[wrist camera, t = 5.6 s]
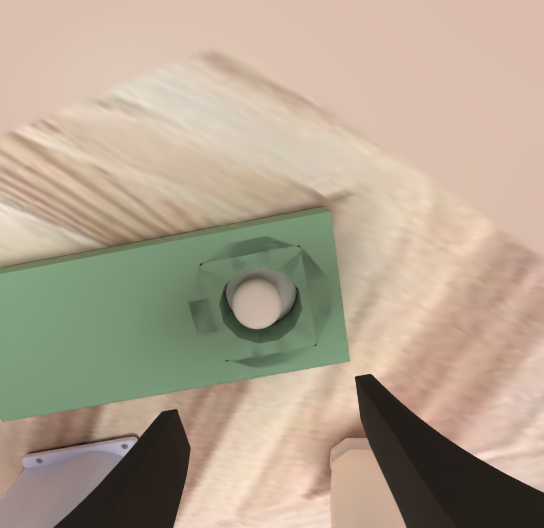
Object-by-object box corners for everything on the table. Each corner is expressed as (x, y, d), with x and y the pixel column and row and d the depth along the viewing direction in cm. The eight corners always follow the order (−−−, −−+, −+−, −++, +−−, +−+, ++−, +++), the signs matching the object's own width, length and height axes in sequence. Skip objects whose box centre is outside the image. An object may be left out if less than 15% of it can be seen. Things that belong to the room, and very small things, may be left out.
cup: (335, 412, 24) (368, 525, 17) (441, 449, 26) (517, 568, 18) (298, 474, 26) (313, 602, 18) (399, 505, 27) (452, 636, 20)
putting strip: (28, 397, 23) (2, 421, 21) (-35, 274, 20) (-73, 287, 18) (341, 341, 22) (349, 361, 20) (322, 206, 19) (330, 211, 17)
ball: (270, 309, 22) (230, 326, 20) (262, 267, 21) (219, 282, 20) (296, 324, 19) (251, 345, 18) (287, 277, 18) (240, 295, 17)
